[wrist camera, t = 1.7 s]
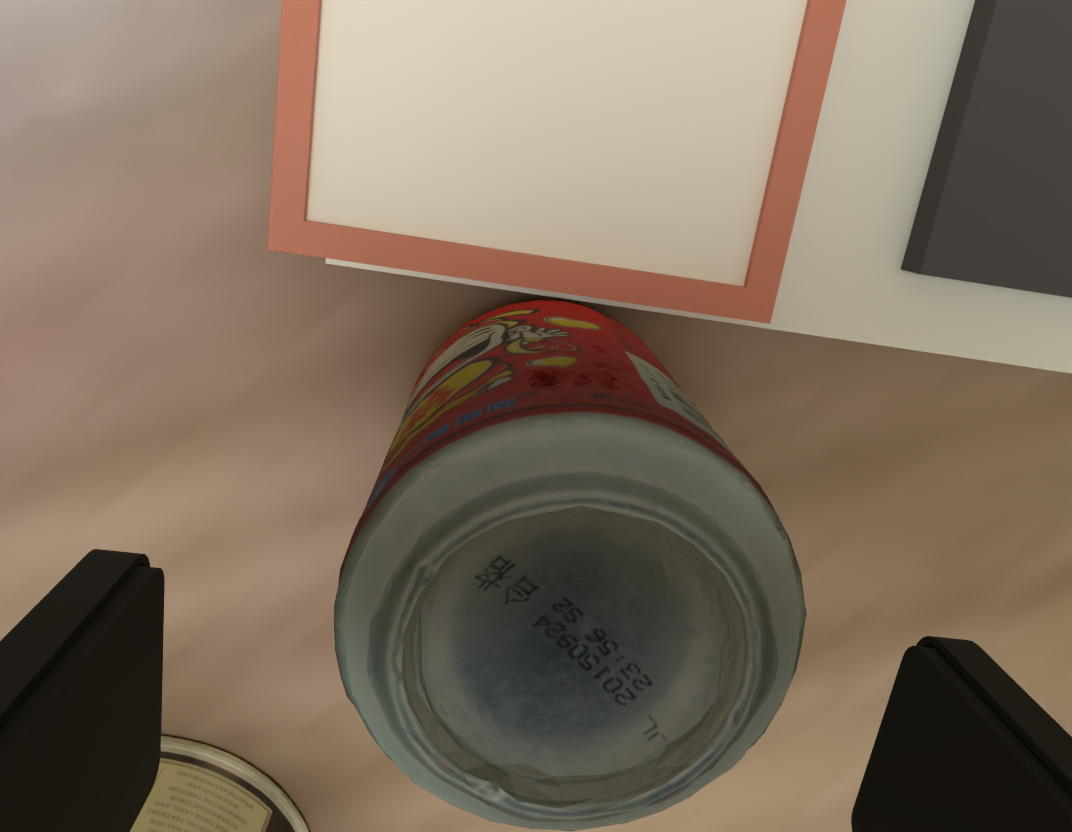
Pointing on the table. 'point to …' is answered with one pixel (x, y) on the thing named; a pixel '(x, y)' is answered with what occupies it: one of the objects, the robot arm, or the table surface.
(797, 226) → the board
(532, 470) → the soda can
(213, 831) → the coffee can
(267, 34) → the table surface
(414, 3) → the red bordered square panel
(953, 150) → the ink pad
